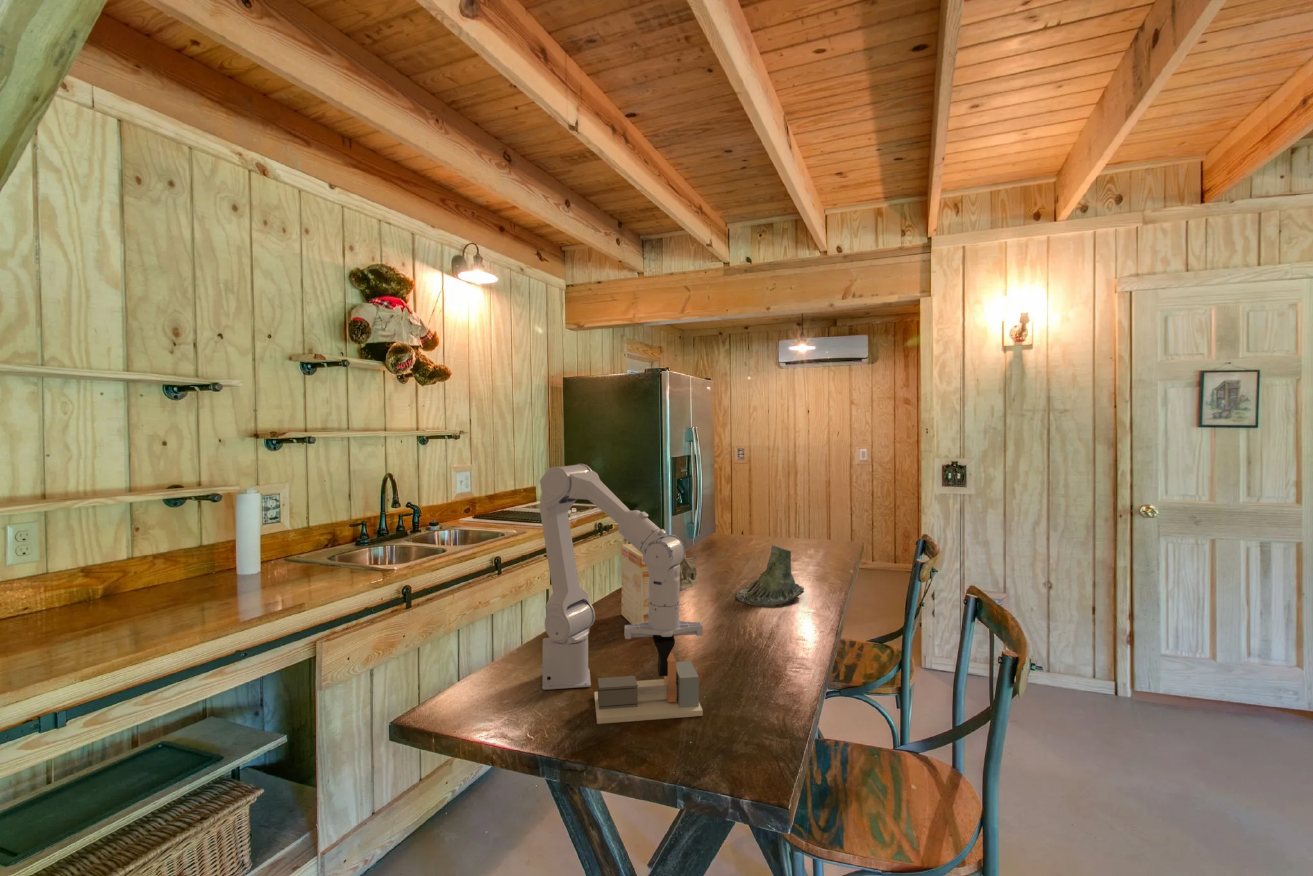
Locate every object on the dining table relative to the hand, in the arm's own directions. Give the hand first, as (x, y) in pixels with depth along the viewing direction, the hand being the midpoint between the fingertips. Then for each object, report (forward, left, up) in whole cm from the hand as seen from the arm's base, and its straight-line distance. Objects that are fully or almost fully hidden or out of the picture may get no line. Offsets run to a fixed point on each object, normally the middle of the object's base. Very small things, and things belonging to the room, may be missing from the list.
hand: (663, 674), depth 109 cm
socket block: (+4, 0, -5) cm, 7 cm away
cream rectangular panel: (-3, 0, -6) cm, 7 cm away
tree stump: (+43, +61, -6) cm, 75 cm away
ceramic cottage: (+17, +78, -6) cm, 80 cm away
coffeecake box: (+2, +45, -6) cm, 45 cm away
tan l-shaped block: (-1, 0, -4) cm, 4 cm away
